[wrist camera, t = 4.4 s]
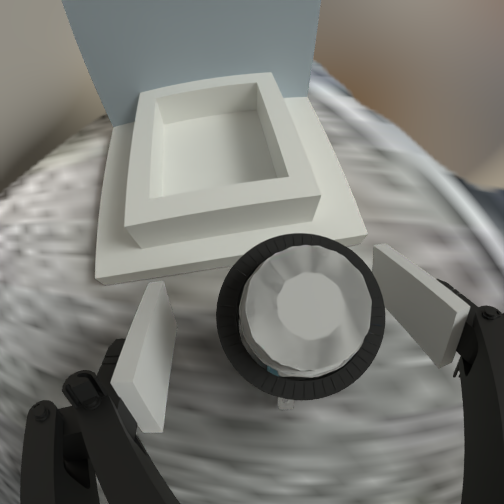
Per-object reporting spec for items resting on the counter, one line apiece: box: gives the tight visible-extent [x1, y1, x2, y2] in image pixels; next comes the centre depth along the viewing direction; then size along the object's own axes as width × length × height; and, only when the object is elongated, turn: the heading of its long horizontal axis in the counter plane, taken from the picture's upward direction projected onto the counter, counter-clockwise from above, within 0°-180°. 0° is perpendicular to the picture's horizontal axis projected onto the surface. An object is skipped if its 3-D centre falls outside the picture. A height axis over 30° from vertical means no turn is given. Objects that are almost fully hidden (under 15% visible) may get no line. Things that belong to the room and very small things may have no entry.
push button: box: [216, 233, 385, 410], centre depth 12 cm, size 7×5×10 cm
